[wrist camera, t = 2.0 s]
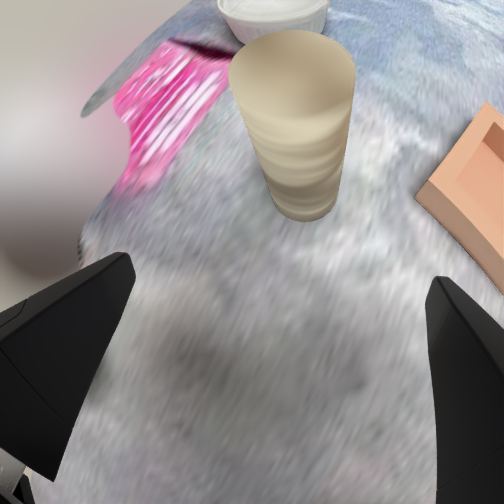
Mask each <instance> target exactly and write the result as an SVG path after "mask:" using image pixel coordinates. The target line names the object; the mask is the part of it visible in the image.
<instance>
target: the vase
mask: <svg viewBox="0 0 504 504" xmlns="http://www.w3.org/2000/svg"><path fill="white" fill-rule="evenodd" d="M355 78H356V69H355V64H354V61H353V59H352V57H351V56H350V54H349V53H348V52H347V50H346V49H345V48H344V47H343V46H341V45H340V44H339V43H337V42H336V41H334V40H333V39H331V38H329V37H326V36H324V35H321V34H318V33H314V32H310V31H303V30H285V31H278V32H273V33H269V34H266V35H263V36H261V37H258V38H256V39H254V40H252V41H251V42H249V43H248V44H246V45H245V46H244V47H242V48H241V49H240V50H239V51H238V52H237V54H236V55H235V56H234V58H233V59H232V61H231V63H230V66H229V70H228V81H229V85H230V88H231V90H232V93H233V95H234V98H235V100H236V103H237V105H238V108H239V110H240V113H241V115H242V118H243V121H244V123H245V126H246V128H247V131H248V134H249V136H250V139H251V142H252V144H253V147H254V149H255V152H256V155H257V158H258V160H259V163H260V166H261V168H262V171H263V174H264V176H265V179H266V182H267V185H268V187H269V190H270V193H271V196H272V199H273V201H274V204H275V205H276V207H277V208H278V210H279V211H280V212H281V213H282V214H284V215H285V216H286V217H288V218H290V219H293V220H296V221H301V222H308V221H314V220H317V219H320V218H321V217H323V216H325V215H326V214H327V213H328V212H330V210H331V209H332V208H333V206H334V205H335V202H336V200H337V196H338V191H339V185H340V179H341V174H342V168H343V162H344V156H345V150H346V144H347V137H348V131H349V124H350V117H351V110H352V102H353V94H354V86H355Z"/></svg>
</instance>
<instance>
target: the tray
mask: <svg viewBox="0 0 504 504" xmlns="http://www.w3.org/2000/svg"><path fill="white" fill-rule="evenodd" d="M414 198H415V199H416V200H417V201H418V202H419V203H420V204H421V205H422V206H423V207H424V208H425V209H426V210H427V211H428V212H429V213H430V214H431V215H432V216H433V217H434V218H435V219H436V220H437V221H438V222H439V223H440V224H441V225H442V226H443V227H444V228H445V229H446V230H447V231H448V232H449V233H450V234H451V235H452V236H453V237H454V238H455V239H456V240H457V241H458V242H459V244H460V245H461V246H462V247H463V248H464V249H465V250H466V251H467V252H468V253H469V255H470V256H471V257H472V258H473V259H474V260H475V261H476V262H477V264H478V265H479V266H480V267H481V268H482V269H483V271H484V272H485V273H486V274H487V275H488V277H489V278H490V279H491V280H492V281H493V283H494V284H495V285H496V286H497V288H498V289H499V290H500V291H501V293H502V294H503V295H504V117H503V116H502V115H501V114H500V113H499V112H498V111H497V110H496V109H495V108H494V107H492V106H491V105H490V104H489V103H488V102H487V101H485V103H484V104H483V106H482V107H481V109H480V110H479V112H478V113H477V115H476V116H475V118H474V119H473V120H472V122H471V123H470V125H469V126H468V127H467V129H466V130H465V132H464V133H463V134H462V136H461V137H460V139H459V140H458V141H457V143H456V144H455V145H454V147H453V148H452V149H451V151H450V152H449V153H448V155H447V156H446V157H445V159H444V160H443V161H442V163H441V164H440V165H439V166H438V168H437V169H436V170H435V172H434V173H433V174H432V175H431V177H430V178H429V179H428V180H427V182H426V183H425V184H424V186H423V187H422V188H421V189H420V191H419V192H418V193H417V195H416V196H415V197H414Z"/></svg>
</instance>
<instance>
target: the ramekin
mask: <svg viewBox="0 0 504 504" xmlns="http://www.w3.org/2000/svg"><path fill="white" fill-rule="evenodd" d="M330 3H331V0H217V8H218V11H219V13H220V14H221V16H222V17H223V18H224V19H225V20H226V21H227V23H228V25H229V26H230V28H231V30H232V31H233V33H234V35H235V36H236V37H237V39H238V40H239V41H241V42H242V43H244V44H245V45H246V44H248V43H249V42H251V41H252V40H254V39H256V38H258V37H261V36H263V35H266V34H269V33H273V32H278V31H285V30H303V31H310V32H314V33H318V34H321V32H322V31H323V29H324V25H325V20H326V15H327V10H328V8H329V6H330Z"/></svg>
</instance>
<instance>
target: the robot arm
mask: <svg viewBox="0 0 504 504" xmlns="http://www.w3.org/2000/svg"><path fill="white" fill-rule="evenodd" d="M135 279H136V274H135V270H134V267H133V264H132V261H131V258H130V255H129V254H128V253H126V252H115V253H113V254H111V255H109V256H107V257H105V258H103V259H101V260H99V261H97V262H95V263H93V264H91V265H89V266H87V267H85V268H83V269H81V270H79V271H77V272H75V273H73V274H71V275H69V276H67V277H66V278H64V279H62V280H60V281H58V282H56V283H54V284H52V285H51V286H49V287H47V288H45V289H43V290H41V291H39V292H38V293H36V294H34V295H32V296H30V297H29V298H28V299H25V300H23V301H22V302H20V303H18V304H16V305H14V306H12V307H10V308H8V309H7V310H5V311H3V312H1V313H0V504H35V502H34V498H33V494H32V491H31V487H30V483H29V479H28V477H27V476H26V475H25V474H23V472H24V470H25V468H26V466H27V467H29V468H30V469H32V470H34V471H35V472H37V473H38V474H40V475H42V476H43V477H45V478H47V479H48V480H50V481H52V482H54V480H55V478H56V476H57V473H58V470H59V467H60V464H61V461H62V458H63V455H64V452H65V449H66V447H67V444H68V441H69V438H70V436H71V433H72V430H73V429H72V428H73V427H74V425H75V422H76V419H77V417H78V414H79V412H80V409H81V407H82V404H83V402H84V400H85V397H86V395H87V392H88V390H89V388H90V385H91V383H92V381H93V378H94V376H95V374H96V371H97V369H98V367H99V365H100V362H101V360H102V358H103V356H104V354H105V351H106V349H107V347H108V345H109V343H110V341H111V339H112V336H113V334H114V332H115V330H116V328H117V326H118V324H119V322H120V319H121V317H122V314H123V312H124V309H125V306H126V304H127V301H128V298H129V296H130V293H131V291H132V288H133V285H134V283H135ZM425 310H426V323H427V340H428V355H429V363H430V370H431V378H432V387H433V397H434V408H435V421H436V441H437V491H436V504H504V329H503V328H502V327H501V326H500V325H499V324H498V323H497V322H496V321H495V320H494V319H493V318H492V317H491V316H490V315H489V314H488V313H487V312H486V311H485V310H484V309H483V308H482V307H481V306H480V305H479V304H477V303H476V302H475V301H474V300H473V299H472V298H471V297H470V296H469V295H468V294H467V293H466V292H464V291H463V290H462V289H461V288H460V287H459V286H458V285H457V284H456V283H454V282H453V281H452V280H451V279H450V278H449V277H445V276H436V277H434V279H433V281H432V283H431V286H430V289H429V292H428V295H427V297H426V301H425Z"/></svg>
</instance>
